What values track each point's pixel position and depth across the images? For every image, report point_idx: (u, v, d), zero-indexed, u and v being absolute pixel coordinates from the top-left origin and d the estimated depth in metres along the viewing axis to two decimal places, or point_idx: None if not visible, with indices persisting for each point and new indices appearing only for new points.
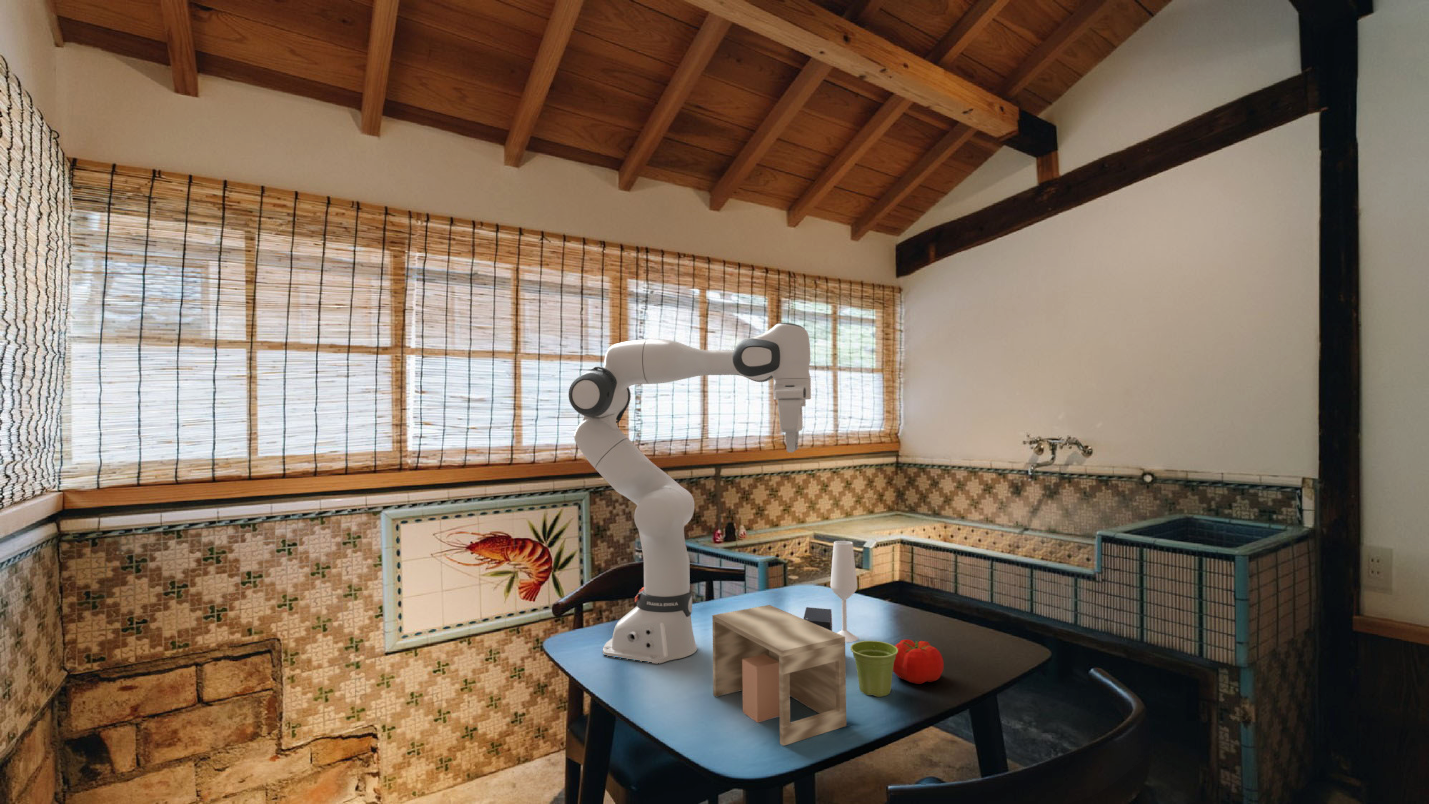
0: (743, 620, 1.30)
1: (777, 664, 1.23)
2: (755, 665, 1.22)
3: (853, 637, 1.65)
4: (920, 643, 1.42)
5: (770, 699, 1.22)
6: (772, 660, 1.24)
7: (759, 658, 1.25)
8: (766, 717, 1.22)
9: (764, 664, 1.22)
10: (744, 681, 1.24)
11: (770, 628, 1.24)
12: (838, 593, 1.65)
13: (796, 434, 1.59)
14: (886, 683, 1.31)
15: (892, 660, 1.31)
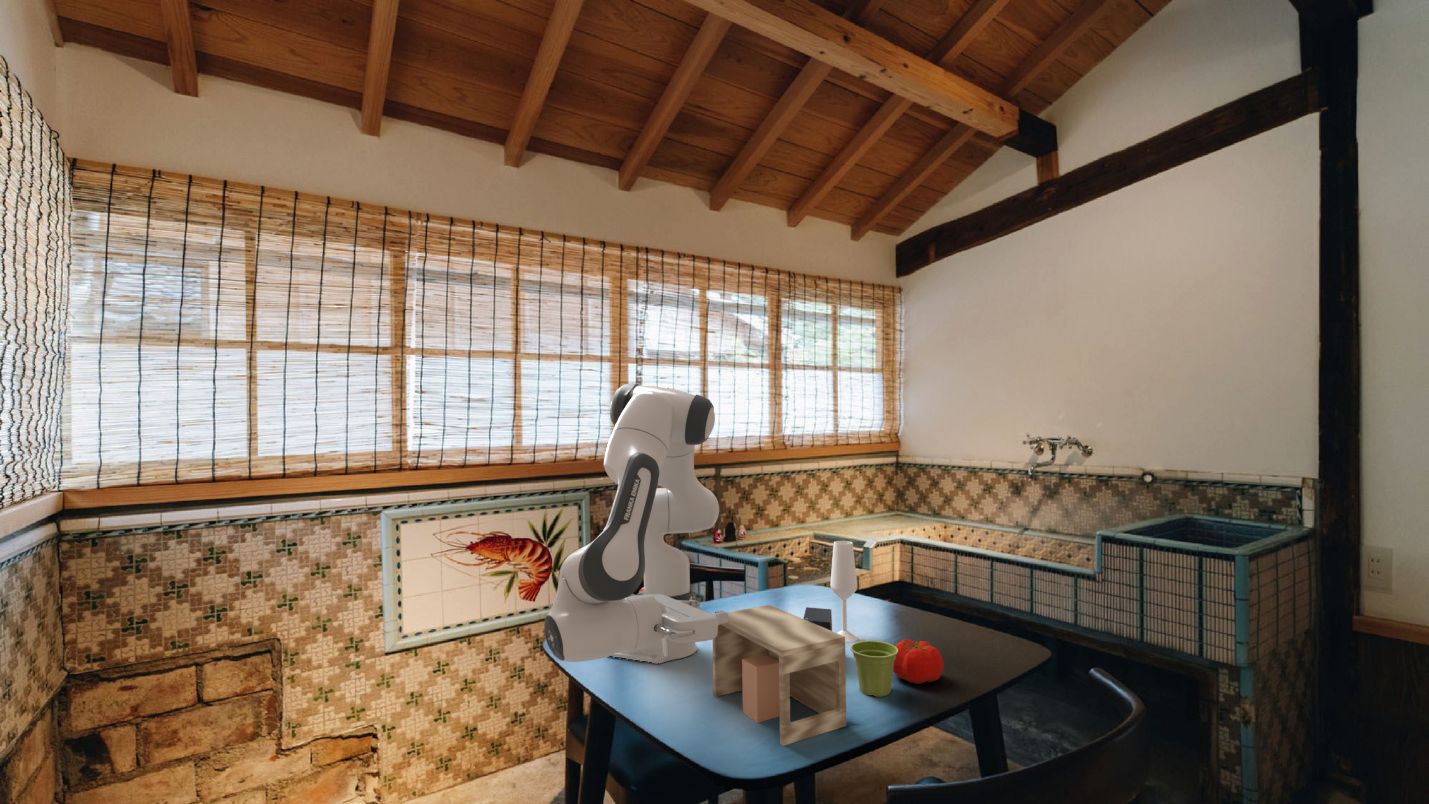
0: (743, 620, 1.30)
1: (777, 664, 1.23)
2: (755, 665, 1.22)
3: (853, 637, 1.65)
4: (920, 643, 1.42)
5: (770, 699, 1.22)
6: (772, 660, 1.24)
7: (759, 658, 1.25)
8: (766, 717, 1.22)
9: (764, 664, 1.22)
10: (744, 681, 1.24)
11: (770, 628, 1.24)
12: (838, 593, 1.65)
13: None
14: (886, 683, 1.31)
15: (892, 660, 1.31)
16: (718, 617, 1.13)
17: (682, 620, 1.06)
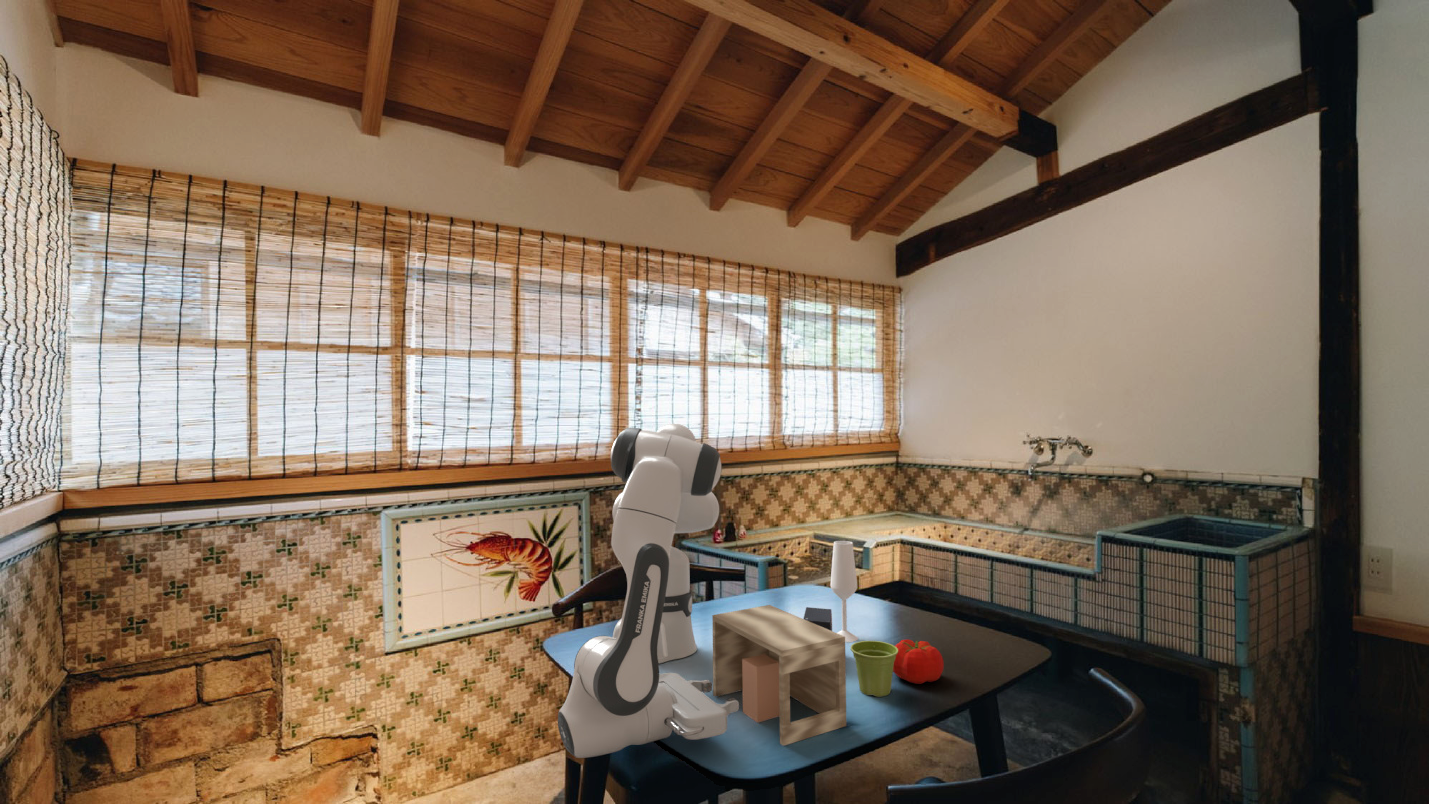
0: (743, 620, 1.30)
1: (777, 664, 1.23)
2: (755, 665, 1.22)
3: (853, 637, 1.65)
4: (920, 643, 1.42)
5: (770, 699, 1.22)
6: (772, 660, 1.24)
7: (759, 658, 1.25)
8: (766, 717, 1.22)
9: (764, 664, 1.22)
10: (744, 681, 1.24)
11: (770, 628, 1.24)
12: (838, 593, 1.65)
13: None
14: (886, 683, 1.31)
15: (892, 660, 1.31)
16: (728, 707, 1.14)
17: (691, 716, 1.07)
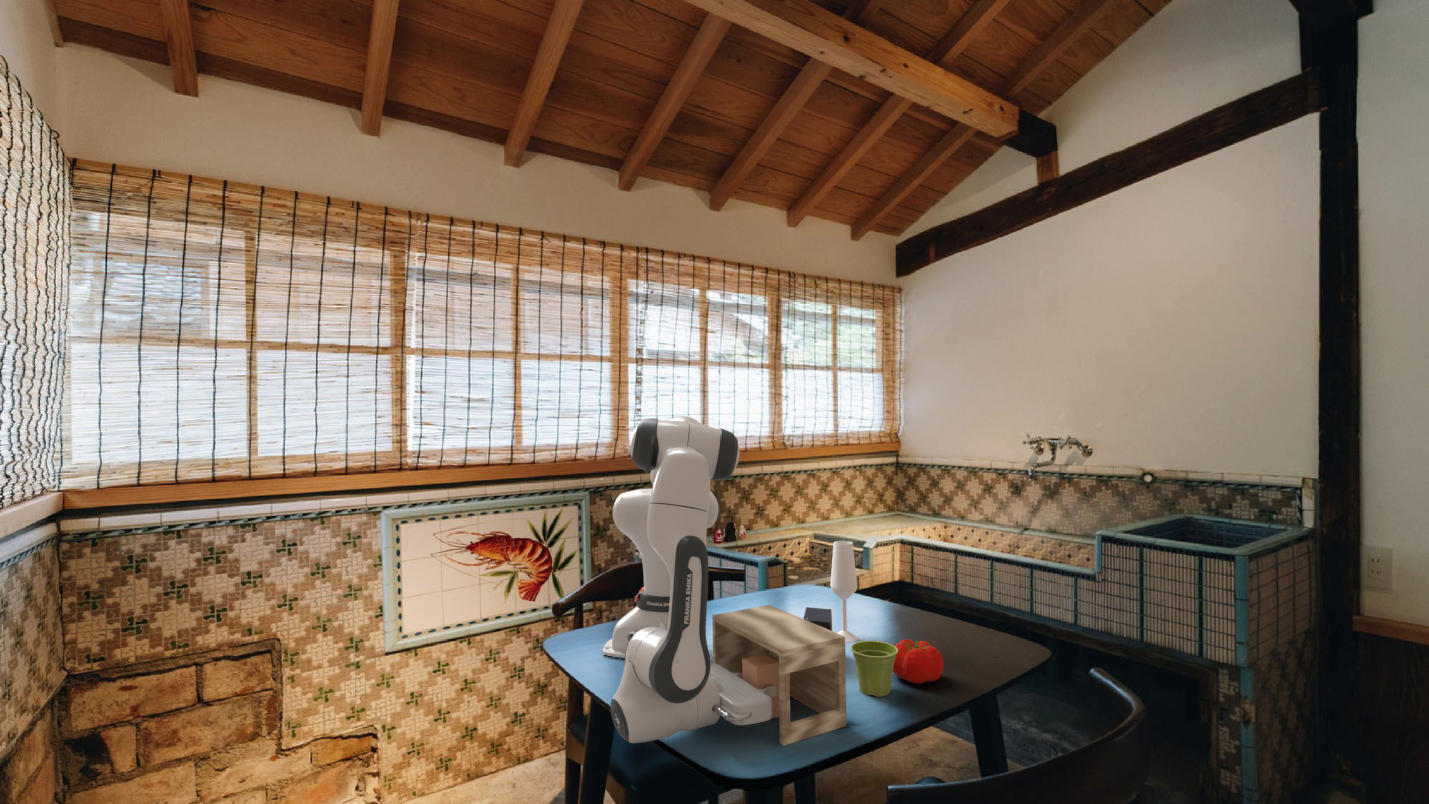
0: (743, 620, 1.30)
1: (777, 663, 1.23)
2: (755, 665, 1.22)
3: (853, 637, 1.65)
4: (920, 643, 1.42)
5: None
6: (772, 660, 1.24)
7: (759, 658, 1.25)
8: None
9: (764, 664, 1.22)
10: None
11: (770, 628, 1.24)
12: (838, 593, 1.65)
13: None
14: (886, 683, 1.31)
15: (892, 660, 1.31)
16: (767, 692, 1.20)
17: (739, 703, 1.12)
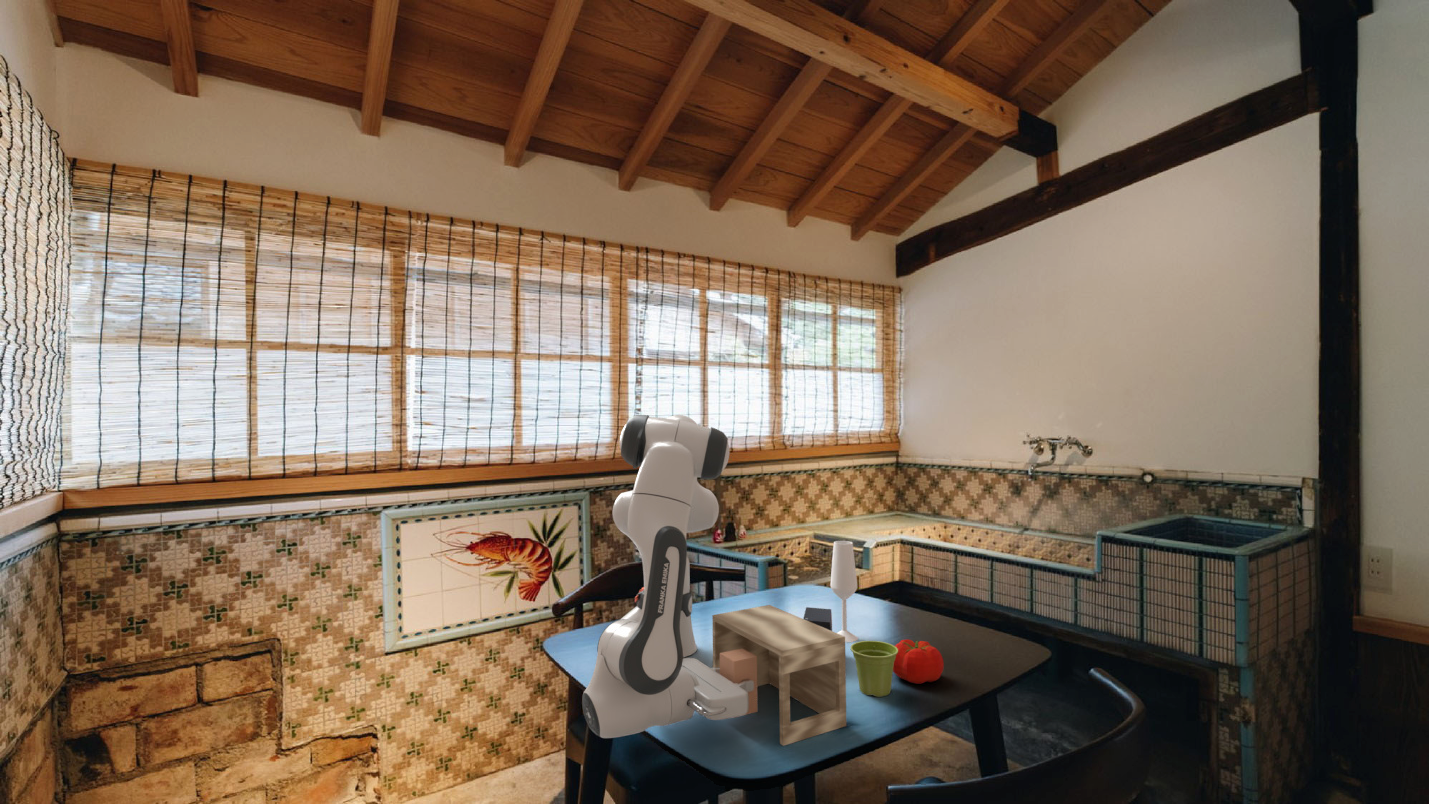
0: (743, 620, 1.30)
1: (755, 658, 1.21)
2: (732, 659, 1.19)
3: (853, 637, 1.65)
4: (920, 643, 1.42)
5: (748, 694, 1.19)
6: (750, 654, 1.22)
7: (737, 652, 1.23)
8: None
9: (741, 658, 1.20)
10: None
11: (770, 628, 1.24)
12: (838, 593, 1.65)
13: None
14: (886, 683, 1.31)
15: (892, 660, 1.31)
16: (744, 686, 1.17)
17: (714, 697, 1.09)
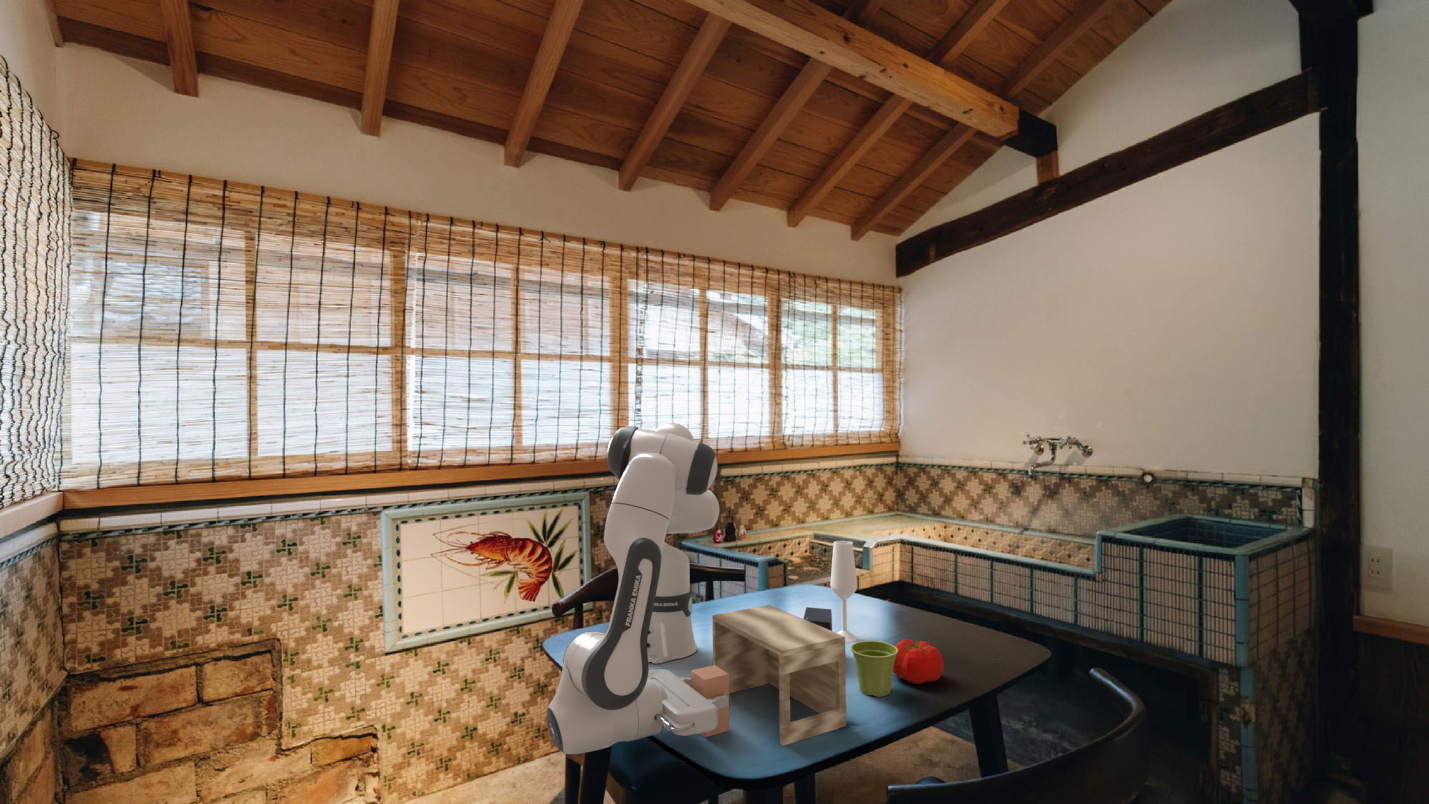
0: (743, 620, 1.30)
1: (727, 675, 1.18)
2: (703, 677, 1.16)
3: (853, 637, 1.65)
4: (920, 643, 1.42)
5: (719, 713, 1.17)
6: (722, 672, 1.19)
7: (709, 670, 1.20)
8: (714, 731, 1.16)
9: (712, 676, 1.17)
10: None
11: (770, 628, 1.24)
12: (838, 593, 1.65)
13: None
14: (886, 683, 1.31)
15: (892, 660, 1.31)
16: (718, 702, 1.13)
17: (682, 712, 1.06)
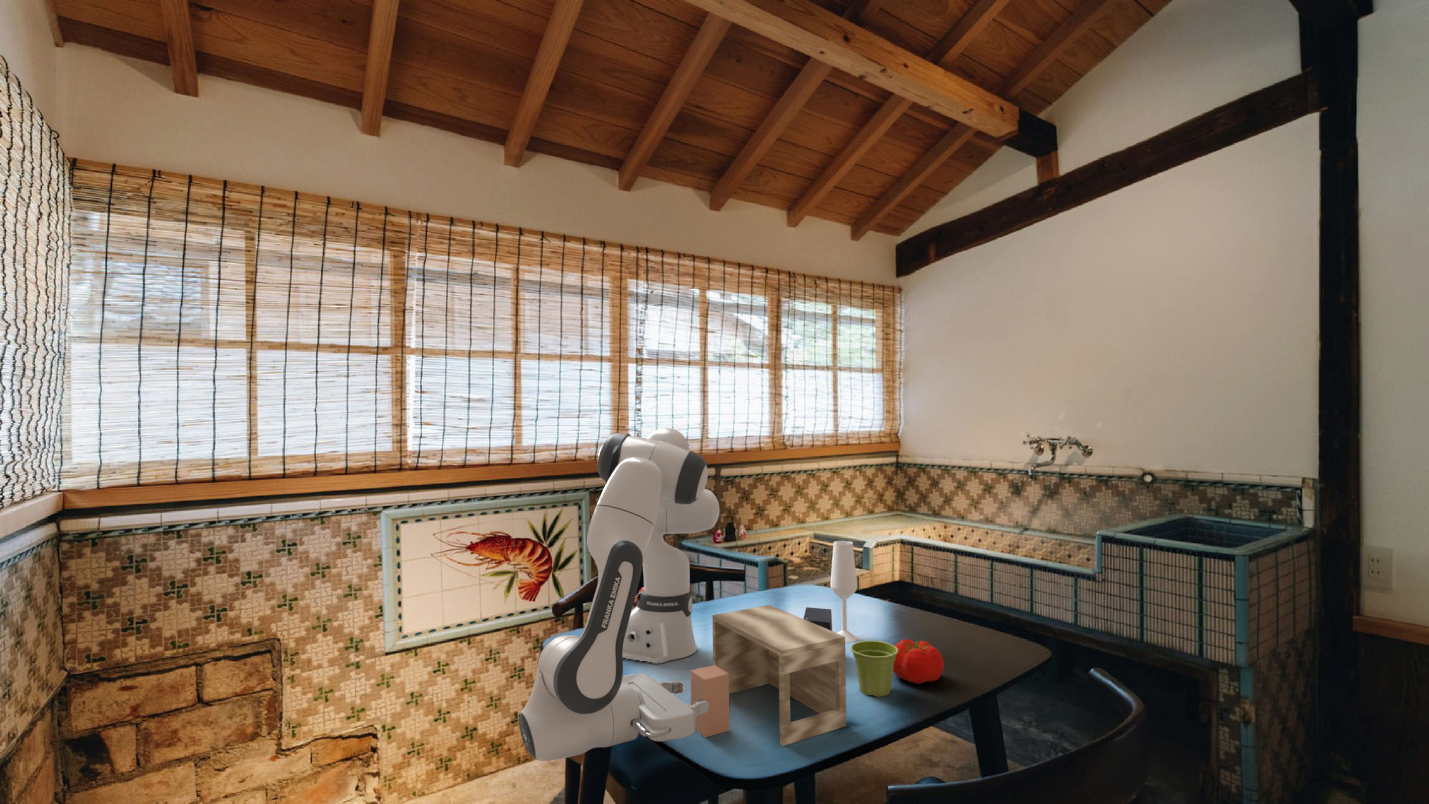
0: (743, 620, 1.30)
1: (727, 675, 1.18)
2: (703, 677, 1.16)
3: (853, 637, 1.65)
4: (920, 643, 1.42)
5: (719, 713, 1.17)
6: (722, 671, 1.19)
7: (709, 670, 1.20)
8: (714, 731, 1.16)
9: (712, 676, 1.17)
10: (693, 693, 1.19)
11: (770, 628, 1.24)
12: (838, 593, 1.65)
13: None
14: (886, 683, 1.31)
15: (892, 660, 1.31)
16: (698, 708, 1.10)
17: (658, 717, 1.04)
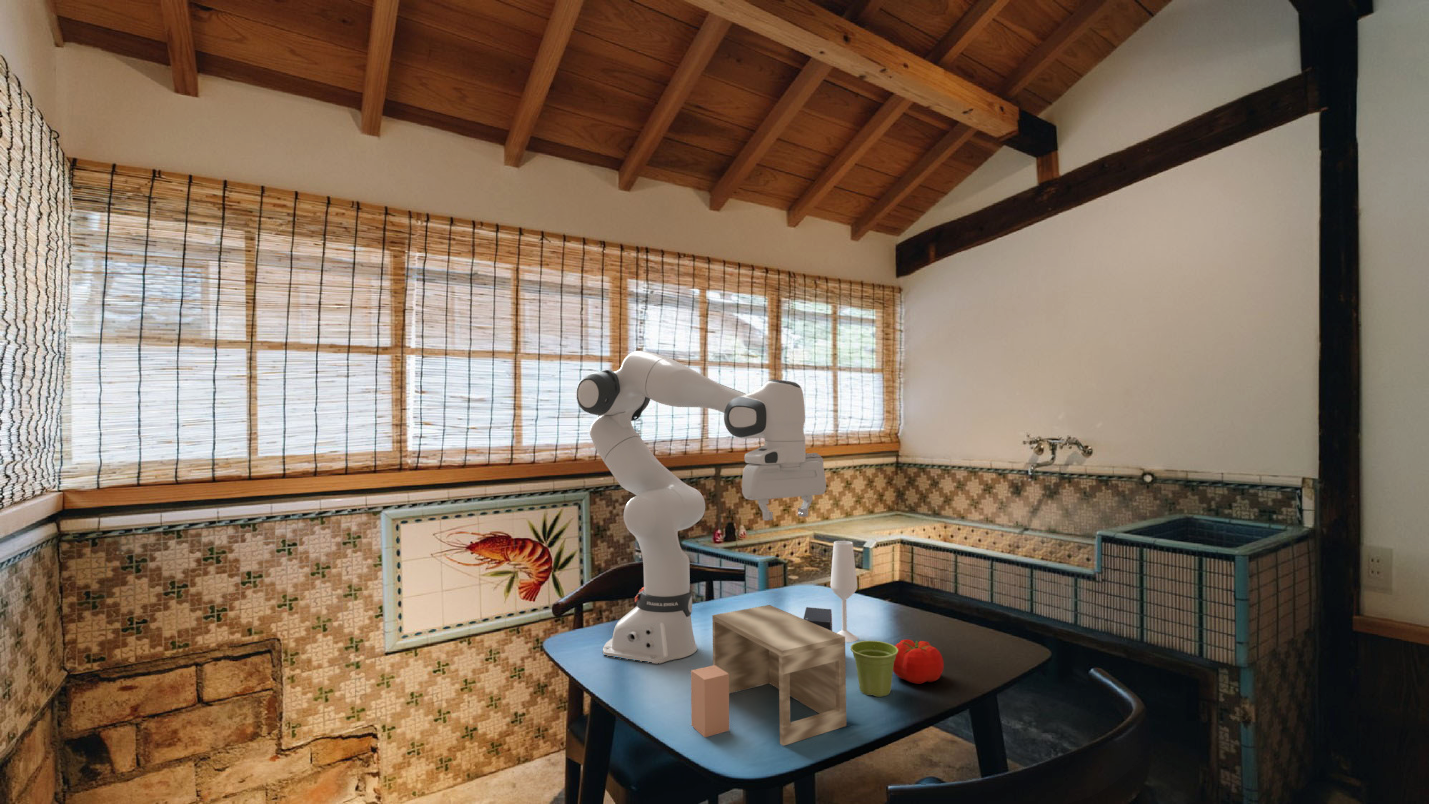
0: (743, 620, 1.30)
1: (727, 675, 1.18)
2: (703, 677, 1.16)
3: (853, 637, 1.65)
4: (920, 643, 1.42)
5: (719, 713, 1.17)
6: (722, 672, 1.19)
7: (709, 670, 1.20)
8: (714, 731, 1.16)
9: (713, 676, 1.17)
10: (693, 693, 1.19)
11: (770, 628, 1.24)
12: (838, 593, 1.65)
13: (806, 499, 1.44)
14: (886, 683, 1.31)
15: (892, 660, 1.31)
16: None
17: None
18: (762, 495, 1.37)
